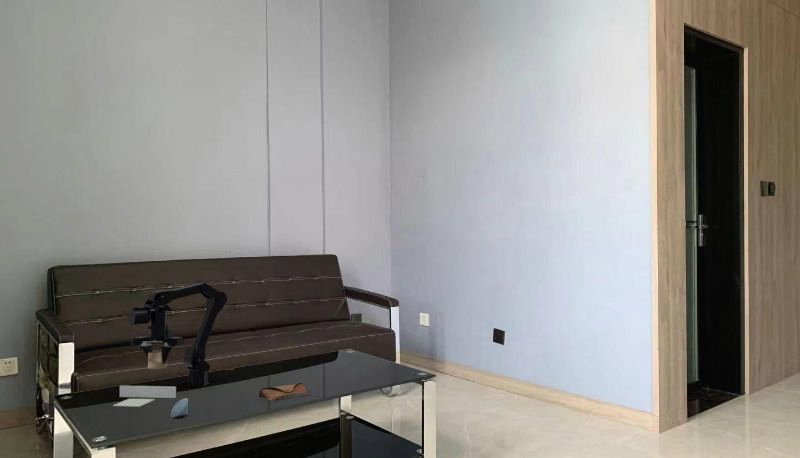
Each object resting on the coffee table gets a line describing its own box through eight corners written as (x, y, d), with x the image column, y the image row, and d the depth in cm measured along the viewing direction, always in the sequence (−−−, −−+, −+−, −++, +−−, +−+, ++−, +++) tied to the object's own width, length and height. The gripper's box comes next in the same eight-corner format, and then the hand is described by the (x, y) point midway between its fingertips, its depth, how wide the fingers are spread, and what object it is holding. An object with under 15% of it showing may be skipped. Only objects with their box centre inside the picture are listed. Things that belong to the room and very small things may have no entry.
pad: (154, 400, 227) (154, 399, 227) (139, 406, 217) (139, 405, 217) (129, 399, 228) (129, 398, 228) (113, 406, 218) (113, 405, 218)
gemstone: (194, 401, 210) (183, 393, 208) (198, 409, 204) (187, 400, 202) (177, 419, 208) (166, 410, 206) (181, 428, 202) (169, 419, 200)
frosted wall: (175, 397, 230) (175, 386, 231) (174, 398, 230) (174, 387, 230) (120, 396, 233) (120, 385, 234) (119, 396, 233) (119, 386, 233)
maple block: (166, 366, 241) (167, 351, 242) (160, 368, 236) (160, 353, 237) (155, 366, 242) (155, 350, 242) (148, 368, 237) (148, 352, 237)
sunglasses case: (268, 401, 222) (264, 384, 225) (261, 408, 227) (257, 391, 230) (312, 394, 233) (308, 377, 236) (305, 401, 238) (301, 384, 240)
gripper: (190, 321, 247) (190, 360, 246) (147, 320, 249) (146, 359, 249) (176, 324, 235) (176, 365, 235) (131, 323, 238) (130, 364, 238)
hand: (157, 363), depth 239 cm, fingers closed on maple block, 5 cm apart
